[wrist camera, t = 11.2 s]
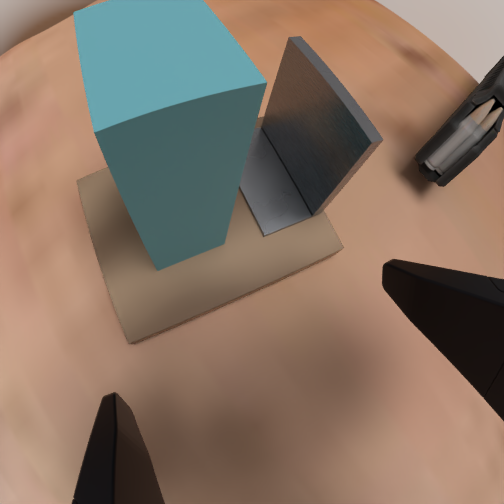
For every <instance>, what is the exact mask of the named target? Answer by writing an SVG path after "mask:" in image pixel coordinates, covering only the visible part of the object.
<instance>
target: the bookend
mask: <svg viewBox="0 0 504 504" xmlns="http://www.w3.org/2000/svg"><path fill="white" fill-rule="evenodd" d="M382 141H383V138H382V137H381V135H380V134H379V132H378V131H377V130H376V128H375V127H374V125H373V124H372V123H371V121H370V120H369V118H368V117H367V116H366V114H365V113H364V112H363V110H362V109H361V108H360V106H359V105H358V104H357V102H356V101H355V100H354V98H353V97H352V96H351V95H350V93H349V92H348V91H347V89H346V88H345V87H344V86H343V84H342V83H341V82H340V81H339V80H338V78H337V77H336V76H335V75H334V74H333V72H332V71H331V70H330V69H329V68H328V66H327V65H326V64H325V63H324V62H323V61H322V59H321V58H320V57H319V56H318V55H317V54H316V53H315V52H314V50H313V49H312V48H311V47H310V46H309V45H308V44H307V43H306V42H305V41H304V40H303V38H302V37H301V36H298V37H289V38H288V41H287V45H286V48H285V51H284V54H283V57H282V60H281V63H280V67H279V70H278V73H277V76H276V80H275V83H274V86H273V89H272V92H271V96H270V99H269V102H268V106H267V109H266V112H265V116H264V119H263V122H262V126H261V127H259V128H255V129H254V132H253V136H252V139H251V143H250V147H249V150H248V154H247V158H246V162H245V166H244V169H243V173H242V177H241V181H240V185H239V189H240V191H241V193H242V195H243V197H244V199H245V201H246V203H247V205H248V207H249V209H250V211H251V213H252V215H253V217H254V219H255V221H256V223H257V225H258V227H259V229H260V231H261V233H262V235H263V237H265V236H268V235H270V234H273V233H275V232H277V231H280V230H282V229H285V228H287V227H290V226H292V225H295V224H297V223H300V222H302V221H304V220H307V219H309V218H312V217H314V216H317V215H319V214H321V213H322V212H323V210H324V209H325V208H326V207H327V206H328V205H329V203H330V202H331V201H332V200H333V199H334V198H335V196H336V195H337V194H338V193H339V192H340V191H341V189H342V188H343V187H344V186H345V185H346V184H347V182H348V181H349V180H350V179H351V178H352V177H353V175H354V174H355V173H356V172H357V171H358V169H359V168H360V167H361V166H362V165H363V164H364V162H365V161H366V160H367V159H368V158H369V156H370V155H371V154H372V153H373V152H374V151H375V149H376V148H377V147H378V146H379V145H380V143H381V142H382Z"/></svg>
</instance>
